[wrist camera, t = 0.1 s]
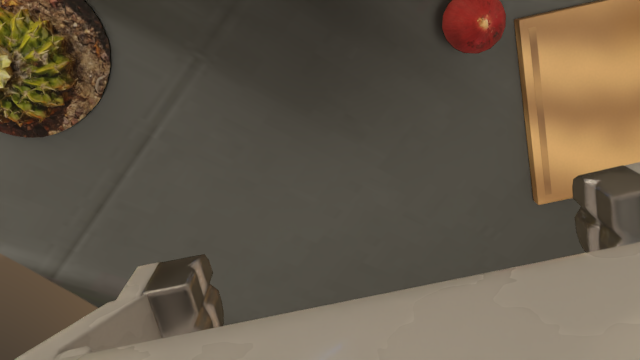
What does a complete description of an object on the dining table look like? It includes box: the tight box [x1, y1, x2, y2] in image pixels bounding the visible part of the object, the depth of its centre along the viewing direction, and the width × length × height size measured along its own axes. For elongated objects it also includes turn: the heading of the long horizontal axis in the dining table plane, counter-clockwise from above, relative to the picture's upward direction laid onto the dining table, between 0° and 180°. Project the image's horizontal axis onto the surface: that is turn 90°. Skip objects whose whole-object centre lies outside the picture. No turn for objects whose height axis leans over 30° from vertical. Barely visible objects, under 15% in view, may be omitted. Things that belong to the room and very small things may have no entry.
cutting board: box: [514, 0, 640, 205], centre depth 59 cm, size 20×14×2 cm
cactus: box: [0, 0, 110, 138], centre depth 53 cm, size 17×16×10 cm
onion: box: [442, 0, 506, 53], centre depth 54 cm, size 6×6×8 cm
